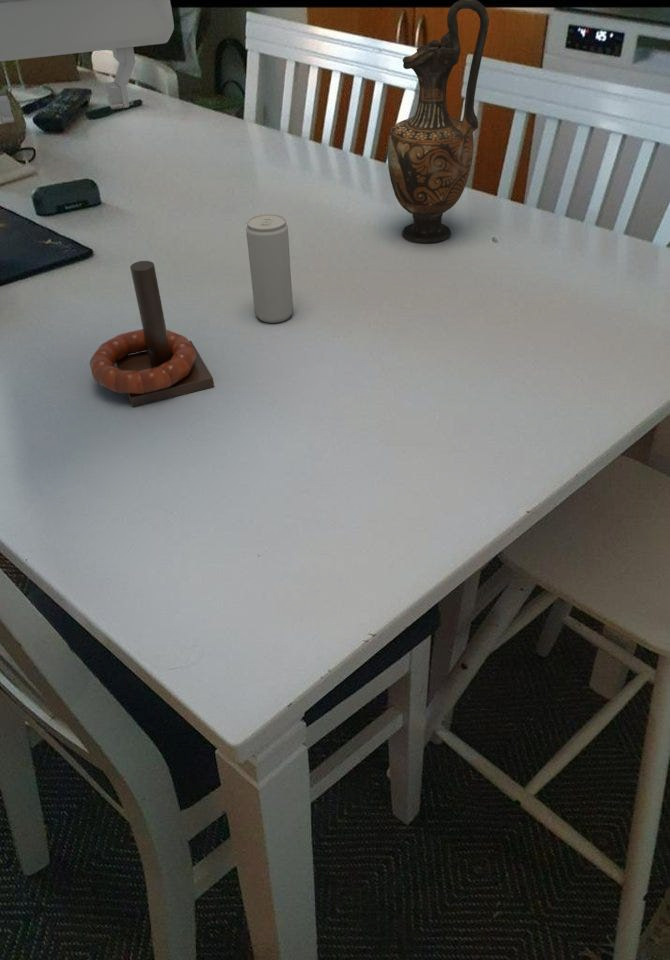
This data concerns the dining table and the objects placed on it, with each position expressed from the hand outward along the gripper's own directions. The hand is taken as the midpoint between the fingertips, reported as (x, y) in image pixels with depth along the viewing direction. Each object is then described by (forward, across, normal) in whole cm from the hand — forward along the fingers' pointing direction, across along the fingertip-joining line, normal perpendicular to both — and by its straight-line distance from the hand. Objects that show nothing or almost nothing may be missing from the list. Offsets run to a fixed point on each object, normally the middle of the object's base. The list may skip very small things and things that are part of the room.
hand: (63, 114), depth 68 cm
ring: (+27, +3, +4) cm, 27 cm away
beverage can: (+29, +21, +12) cm, 38 cm away
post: (+29, +5, +4) cm, 30 cm away
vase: (+29, +50, +24) cm, 62 cm away
